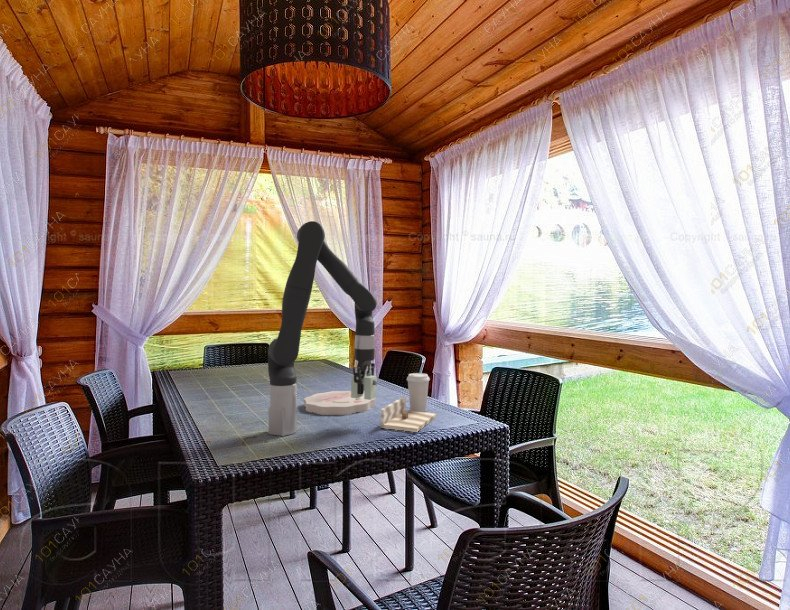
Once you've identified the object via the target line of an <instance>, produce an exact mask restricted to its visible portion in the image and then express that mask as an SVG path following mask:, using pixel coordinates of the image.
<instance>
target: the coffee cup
mask: <svg viewBox="0 0 790 610" xmlns="http://www.w3.org/2000/svg"><path fill="white" fill-rule="evenodd" d="M430 380H431V378H430V376H428V374H427V373H423V372H422V373H421V372H413V373H408V376H407V378H406V381H407V387H408V396H409V397H408V399H409V400H408V401H409V411H415V412H424V413H426V412H427V404H428V392H429V381H430ZM425 411H426V412H425Z"/></svg>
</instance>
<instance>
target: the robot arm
mask: <svg viewBox="0 0 790 610" xmlns="http://www.w3.org/2000/svg"><path fill="white" fill-rule="evenodd" d="M325 237H326V232H325V228H324V227H323V225H322V224H321V223H319V222H317V221H314V220H313V221H312V220H311V221H306V222H304V223H303V224H302V225H301V226H300V227H299V228H298V230H297V232H296V240H297V242H298V244H297V249H296V250H297V251H296V256H295V260H294V262H293V264H292V267H291V269H290V271H289V274H288V277H287V279H286V283H285V287H284V292H283V295H282V300H281V325H280V329H279V333H278V336H277V338H274V339H273V340H272V341H271V342H270V343H269V345H268V348H267V349H268V350H267V373H268V377H269V407H268V408H267V409H268V435H272V436H273V435H274V436H280V437H284V436H289V435H293V434H296V433H297V432H298V420H297V419H298V418H297V417H298V416H297V415H298V414H297V413H298V412H297V411H298V410H297V409H298V407H297V405H298V402H297V401H298V399H297V398H298V397H297V395H298V393H297V392H298V391H297V390H298V389H297V388H298V387H297V383H298V382H297V381H298V380H297V374H296V370H295V362H296V360H297V358H298V356H299V352H300V346H301V345H300V344H301V335H302V330H303V325H304V323H305V318H306V314H307V312H308V307H309V304H310V300H311V296H312V291H313V285H314V280H315V273H316V267H317V262H318V263H320V264H321V266H322V267H323V268H324V269H325V271H327V272H328V274H329V275H330V276H331V278H332V279H333V280H334V282H335V283H336V284H337V285H338V286H339V288H341V290H342V291H343V292H344V293H345V294H346V295H348V296H349V297H350V299H351V300H353V302H354V316H355V336H354V338H355V339H354V357H353V358H354V360H355V361H356V362H357V364H356V367H353V368H352V372H353V374H352V375H353V376H354V383H357V393H358V394H363V393H364V378H365V377H366V375H369V376H375V367H376V364H375V363H374V362H372V361H374V360H375V356H376V355H375V353H376V347H375V345H376V340H375V339H376V338H375V321H374V320H373V319H374V318H373V312H374V311H375V310H376V308H377V305H378V303H377V299H376V297H375V296H374V294H373V292H371V291H370V290H369V288H367V287H366V286H365V285H364V284H363V283H362V282H361V281H360V279H359V278H358V277H357V275H356V274H355V273H354V272H353V270H352V269H350V267H349V266H348V265H347V263H345V262H344V261H343V260H341V259H340V258H339V257H338V256H337V255H336V254H335V253H334V252H333V250H332V249H331V248H330V247H329V246H328V244H327V242H326V241H325V239H326V238H325ZM361 378H362V380H361Z"/></svg>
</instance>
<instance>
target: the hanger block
mask: <svg viewBox="0 0 790 610" xmlns="http://www.w3.org/2000/svg"><path fill="white" fill-rule="evenodd" d="M377 377H378V376H377V375H374V376H369V375H366V377H365V378H364V399H367V400H371V399H374V398H375V399H376V398H377V386H378V380H377ZM361 380H362V378H361ZM350 382H351V383H350V384H351V387H350V391H351V398H359V397H361V396H363V394H358V393H357V383H354V375H351V379H350Z"/></svg>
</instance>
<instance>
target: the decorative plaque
mask: <svg viewBox="0 0 790 610" xmlns="http://www.w3.org/2000/svg"><path fill="white" fill-rule="evenodd" d="M303 401H304V405H303V406H305V407H306V408H305V407H304V408H305V411H306V412H307V411H308V412H307V413H312V412H313V413H314V414H317V415H322V416H331V415H332V416H334V415H335V416H347V415H346V414H349V415H353V414H352V413H354V414H357V413H356V412H360V413H365V412H364V411H366V412H368V411H370V410H371V409H372V408H371V407H373V408H375V407H376V398H374V399H371V400H367V399H364V393H363V396H361V397H359V398H351V390H333V391H326V392H319V393H318V392H317V393H314V394H312V395H310V396H307V397H304V399H303ZM374 406H375V407H374ZM367 410H368V411H367Z"/></svg>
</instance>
